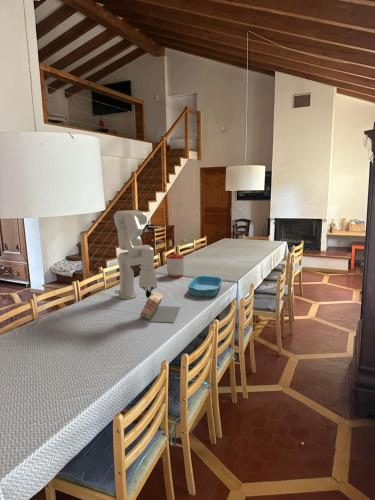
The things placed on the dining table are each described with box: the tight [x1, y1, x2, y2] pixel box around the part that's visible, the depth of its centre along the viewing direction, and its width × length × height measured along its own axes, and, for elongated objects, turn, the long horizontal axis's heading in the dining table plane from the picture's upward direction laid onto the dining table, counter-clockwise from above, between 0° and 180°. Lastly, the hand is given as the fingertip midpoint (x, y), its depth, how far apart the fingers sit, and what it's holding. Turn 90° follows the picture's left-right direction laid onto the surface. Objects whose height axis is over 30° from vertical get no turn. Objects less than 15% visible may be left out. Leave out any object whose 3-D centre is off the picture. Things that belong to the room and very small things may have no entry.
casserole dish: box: [187, 275, 223, 298], centre depth 266 cm, size 37×22×7 cm, turn 166°
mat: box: [149, 305, 181, 324], centre depth 219 cm, size 14×26×1 cm, turn 173°
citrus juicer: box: [164, 252, 186, 278], centre depth 306 cm, size 16×17×20 cm
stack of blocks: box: [139, 291, 164, 321], centre depth 219 cm, size 21×6×12 cm, turn 171°
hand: (148, 297), depth 218 cm, fingers closed
